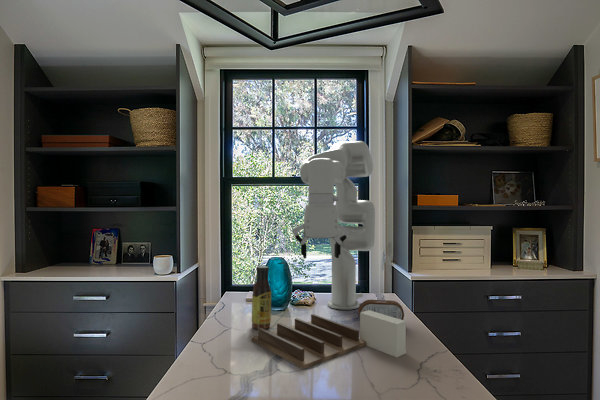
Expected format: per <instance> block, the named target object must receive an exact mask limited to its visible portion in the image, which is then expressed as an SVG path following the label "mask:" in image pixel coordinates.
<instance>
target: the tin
mask: <svg viewBox="0 0 600 400" xmlns="http://www.w3.org/2000/svg"><path fill="white" fill-rule="evenodd" d="M368 310H370V311H374V312H377V313H380V314H384V315H387V316H390V317H394V318H397V319H400V320H404V318H405V311H404V308H403V306H402V305H401V304H400V303H399V302H397V301H395V300H391V299H390V300H383V299H366V300H364V301H362V302H361V304H360V306H359V307H358V311H357V312H358V317H359V318H360V313H361V312H364V311H368Z"/></svg>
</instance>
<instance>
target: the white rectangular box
mask: <svg viewBox="0 0 600 400" xmlns="http://www.w3.org/2000/svg"><path fill="white" fill-rule="evenodd" d="M406 330H407V321H406V320H404V319H403V320H400V319H397V318H394V317H390V316H387V315H384V314H380V313H377V312H374V311H370V310H368V311H364V312H361V313H360V317H359V339H360V340H363V341H366V342H367V345H366V346H367V347H369V348H372V349H374V350H377V351H380V352H381V353H385V354H386V355H387V354H388V355H389V356H392V357H395V358H398V357H401V356H403V355H406V353H407V349H406V347H407V346H406V344H407V340H406V339H407V331H406Z"/></svg>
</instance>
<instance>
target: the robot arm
mask: <svg viewBox="0 0 600 400" xmlns="http://www.w3.org/2000/svg"><path fill="white" fill-rule="evenodd" d="M369 148H370V147H369V145H368V144H367V143H366V142H365V141H363V140H357V141H356V140H355V141H338V142H336V143H334V144H333V145H332V146H331V148H330V149H328V150H326V151H323V152H320V153H317V154H314V155H310V156H309V157H307V158H306V159H305V160H304V161H303V163H302V165H301V167H300V169H299V170H300V175H299V176H300V178H301V179H300V180H301V181H302V182H303V183H304V184H306V185H308V204H305V207H304V215H303V223H302V224H299V225H298V226H296V227H294V228H292V229H291V232H292V234H293V236H294V238H295V240H297V241H298V243H300V256H302V257H303V259H307V251H308V250H307V242H308V240H309V239H329V244H330V252H331V299H329V300H328V301H327V306H328V307H329V308H332V309H335V310H341V311H349V310H355V309H359V306H360V305H361V304H360V302H359V299H361V298H363V297H364V294H363V293H362V292H359V293H357V292H356V289H357V288H356V287H357V286H356V284H357V283H356V282H357V281H356V280H357V278H356V277H357V275H356V274H357V273H356V272H357V267H356V266H357V265H356V264H357V262H356V259H355V257H354V256H353V255H352V253H351V251H357V252H369V251H371V250H373V249H374V245H375V229H376V228H375V227H376V209H375V205H374V203H373V202H372V201H371V200H368V199H366V200H365V199H364V200H363V199H362V200H361V199H358V188H357V187H356V184H354V182H353V181H352V180H351V179H350V178H364V177H366V178H367V177H370V176H371V174H372V172H373V169H374V165H373V164H374V163H373V158H372V156H371V155H372V154H371V151H370V149H369ZM334 188H335V189H334ZM334 190H336V195H335V194H334V193H335V191H334ZM340 223H341V224H351V225H341V224H340ZM352 224H353V225H354V224H355V225H354V226H353V225H352ZM356 225H357V226H356ZM358 225H362V226H358ZM302 230H303V235H304V236H302V237H300V235H299V233H298V232H300V231H302Z"/></svg>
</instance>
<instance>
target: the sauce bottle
mask: <svg viewBox="0 0 600 400" xmlns="http://www.w3.org/2000/svg"><path fill="white" fill-rule="evenodd" d="M269 269H270V267H269V266H266V265H258V266H256V281H255V283H254V285H253V288H252V296H251V297H252V299H251V300H252V301H251V302H252V304H251V326H252V328H253V329H255V330H258V328H263V329H265V330H267V329H268V328H269V327H270V326H271V322H272V321H271V320H272V319H271V318H272V289H271V286H270V283H269V282H270V281H269V272H270V271H269Z"/></svg>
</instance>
